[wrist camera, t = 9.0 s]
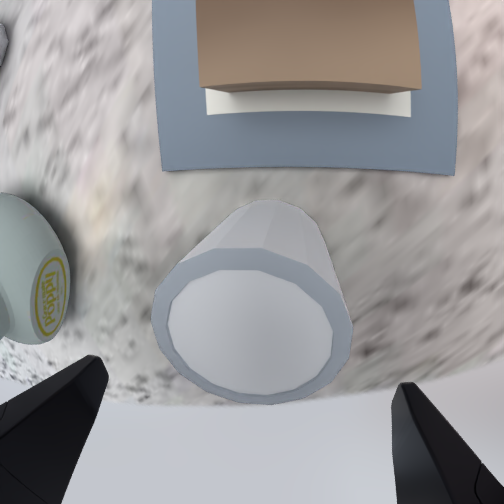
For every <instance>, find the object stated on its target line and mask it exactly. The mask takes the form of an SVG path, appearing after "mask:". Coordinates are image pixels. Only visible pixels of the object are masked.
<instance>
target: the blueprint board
mask: <svg viewBox="0 0 504 504" xmlns="http://www.w3.org/2000/svg"><path fill="white" fill-rule="evenodd" d="M414 6H415V13H416V20H417V29H418V38H419V49H420V63H421V83H422V89H421V90H413V91H406V92H399V93H393V94H385V93H374V92H361V91H343V90H263V91H245V92H232V93H227V92H222V91H217V90H212V89H207V88H201V87H200V85H199V68H198V49H197V27H196V0H152V32H153V61H154V80H155V96H156V110H157V122H158V133H159V144H160V153H161V163H162V171H175V170H191V169H210V168H235V167H337V168H362V169H381V170H396V171H409V172H421V173H432V174H442V175H451V176H454V174H455V163H456V148H457V124H458V92H457V68H456V54H455V43H454V34H453V26H452V19H451V12H450V6H449V0H414Z"/></svg>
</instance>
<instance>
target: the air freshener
mask: <svg viewBox="0 0 504 504" xmlns="http://www.w3.org/2000/svg"><path fill="white" fill-rule="evenodd" d="M69 294H70V269H69V264H68V260H67V257H66V254H65V252H64V249H63V247H62V245H61V243H60V241H59V239H58V237H57V235H56V234H55V232H54V230H53V229H52V227H51V226H50V224H49V223H48V222H47V221H46V219H45V218H44V217H43V216H42V215H41V214H40V213H39V212H38V211H37V210H36V209H35V208H34V207H33V206H32V205H30V204H29V203H28V202H26V201H25V200H23V199H21V198H19V197H17V196H15V195H11V194H7V193H0V340H1V339H2V338H3V337H4V336H5V337H7V338H9V339H11V340H13V341H15V342H19V343H23V344H30V345H32V344H42V343H45V342H48V341H50V340H52V339H53V338H54V337H55V336H56V334H57V333H58V331H59V330H60V328H61V326H62V323H63V320H64V317H65V314H66V311H67V306H68V301H69Z"/></svg>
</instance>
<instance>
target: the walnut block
mask: <svg viewBox="0 0 504 504" xmlns="http://www.w3.org/2000/svg"><path fill="white" fill-rule="evenodd" d="M196 27H197V49H198V68H199V85H200V87H201V88H207V89H212V90H217V91H222V92H227V93H232V92H245V91H263V90H343V91H361V92H374V93H385V94H393V93H399V92H406V91H413V90H421V89H422V83H421V63H420V49H419V38H418V29H417V20H416V13H415V6H414V0H196Z"/></svg>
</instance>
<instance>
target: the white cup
mask: <svg viewBox="0 0 504 504" xmlns="http://www.w3.org/2000/svg"><path fill="white" fill-rule="evenodd" d="M151 323H152V326H153V329H154V333H155V336H156V339H157V342H158V345H159V348H160V350H161V351H162V352H163V354H164V355H165V356H166V357H167V359H168V360H169V361H170V362H171V364H172V365H173V366H174V367H175V369H176V370H177V371H178V372H179V373H180V374H181V375H183V376H184V377H186V378H187V379H188V380H190V381H191V382H193V383H194V384H196V385H197V386H199V387H200V388H202V389H203V390H205V391H206V392H209V393H212V394H215V395H218V396H220V397H223V398H226V399H229V400H232V401H235V402H239V403H251V404H266V405H274V404H279V403H284V402H289V401H293V400H298V399H303V398H305V397H307V396H309V395H310V394H312V393H314V392H316V391H317V390H319V389H321V388H322V387H324V386H326V385H328V384H329V383H331V382H332V380H333V379H334V378H335V376H336V375H337V374H338V372H339V371H340V370H341V368H342V367H343V366H344V364H345V363H346V362H347V360H348V359H349V354H350V347H351V341H352V334H353V325H352V322H351V319H350V315H349V312H348V309H347V306H346V303H345V300H344V297H343V293H342V290H341V287H340V284H339V281H338V278H337V275H336V273H335V270H334V267H333V264H332V261H331V258H330V255H329V252H328V249H327V247H326V244H325V241H324V239H323V237H322V234H321V232H320V230H319V227H318V225H317V223H316V222H315V221H314V220H313V219H312V218H311V217H309V216H308V215H307V214H306V213H305V212H304V211H303V210H302V209H301V208H299V207H296V206H294V205H291V204H288V203H286V202H283V201H280V200H256V201H254V202H251V203H249V204H247V205H245V206H242V207H240V208H238V209H236V210H235V211H234V212H233V213H232V214H230V215H229V216H228V217H227V218H226V219H225V220H224V221H223V222H222V223H220V224H219V225H218V226H217V227H216V228H215V229H214V230H213V231H212V232H211V233H210V234H208V235H207V236H206V237H205V238H204V239H203V240H202V241H201V242H200V243H199V244H198V245H197V246H196V247H194V248H193V249H192V250H191V251H190V252H189V253H188V254H187V255H186V256H185V257H184V258H183V259H182V260H181V261H180V262H178V263H177V264H176V266H175V267H174V268H173V269H172V270H171V272H170V273H169V274H168V275H167V277H166V278H165V279H164V280H163V281H162V283H161V284H160V285H159V286H158V288H157V289H156V290H155V295H154V301H153V307H152V314H151Z"/></svg>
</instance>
